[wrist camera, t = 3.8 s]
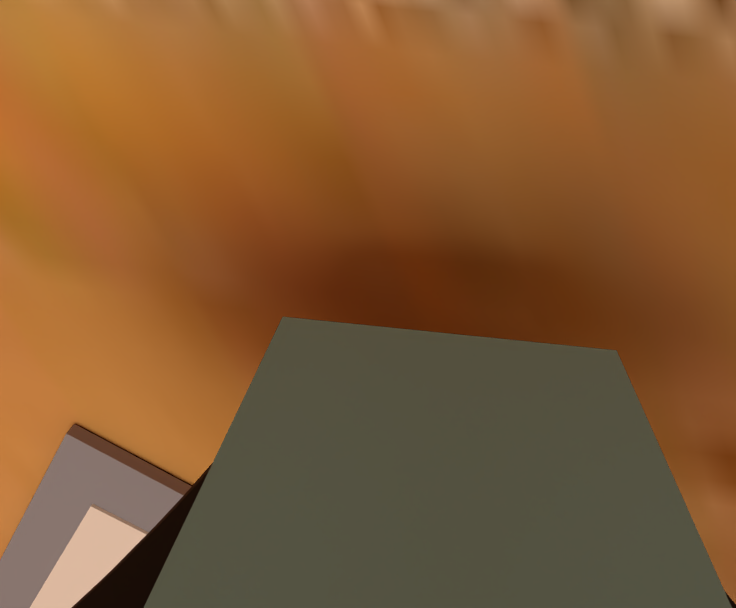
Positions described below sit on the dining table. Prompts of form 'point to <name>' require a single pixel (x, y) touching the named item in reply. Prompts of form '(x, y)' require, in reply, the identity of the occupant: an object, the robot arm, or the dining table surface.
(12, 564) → the tray
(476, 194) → the dining table surface
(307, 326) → the teal cube
